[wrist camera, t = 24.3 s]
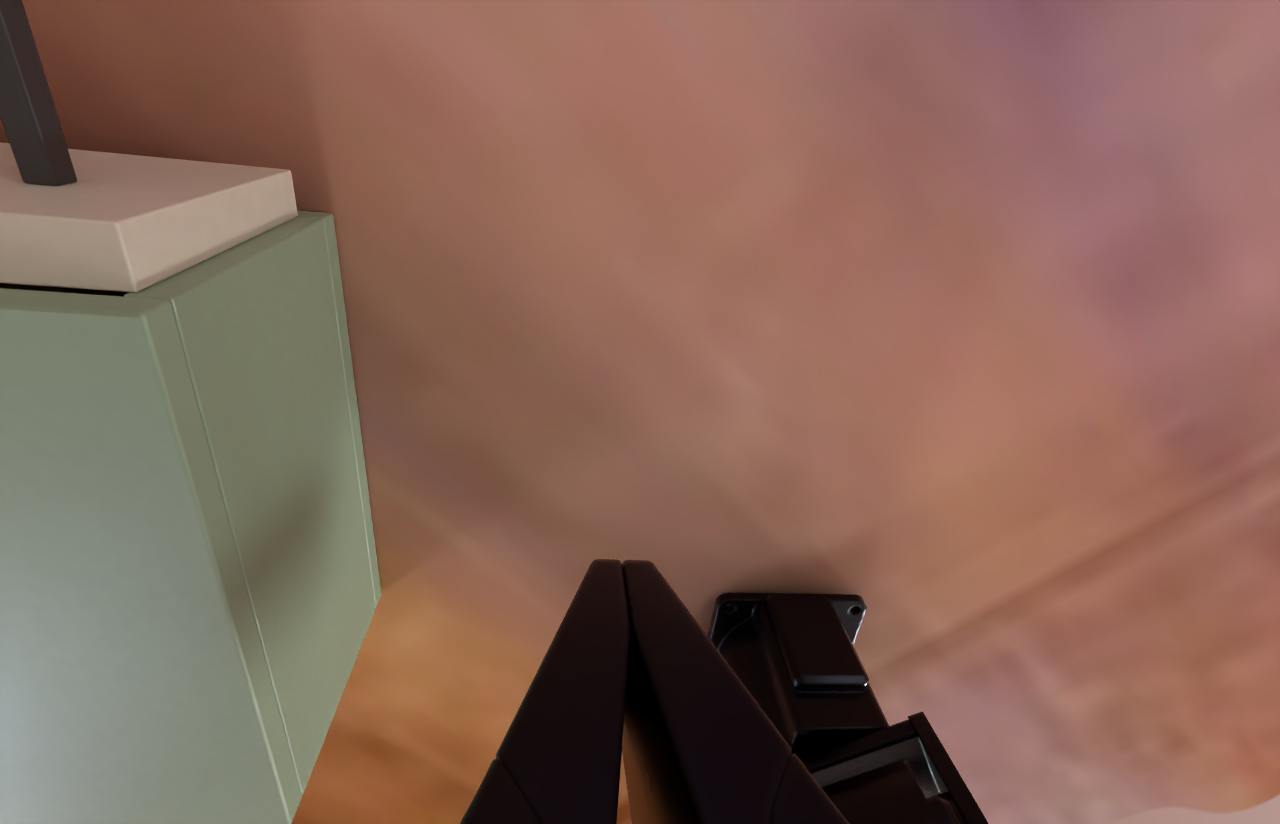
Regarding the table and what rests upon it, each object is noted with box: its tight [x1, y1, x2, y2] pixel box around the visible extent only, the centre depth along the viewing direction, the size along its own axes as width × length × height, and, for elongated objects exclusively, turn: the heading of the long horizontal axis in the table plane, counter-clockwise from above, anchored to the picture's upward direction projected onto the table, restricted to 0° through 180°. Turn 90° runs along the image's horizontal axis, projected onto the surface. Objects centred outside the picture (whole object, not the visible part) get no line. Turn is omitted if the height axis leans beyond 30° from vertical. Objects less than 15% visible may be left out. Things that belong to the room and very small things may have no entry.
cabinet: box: [0, 210, 381, 824], centre depth 16 cm, size 15×13×9 cm
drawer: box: [0, 0, 298, 293], centre depth 14 cm, size 18×11×7 cm, turn 174°
